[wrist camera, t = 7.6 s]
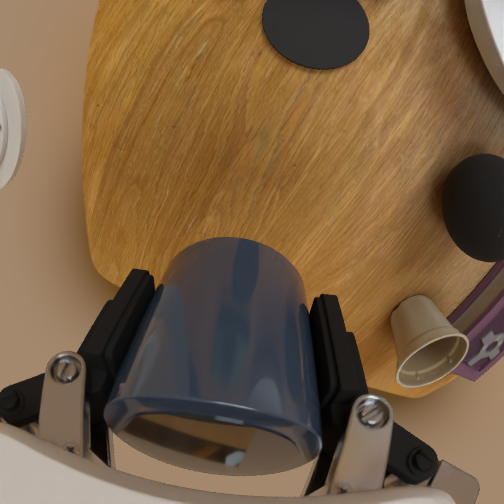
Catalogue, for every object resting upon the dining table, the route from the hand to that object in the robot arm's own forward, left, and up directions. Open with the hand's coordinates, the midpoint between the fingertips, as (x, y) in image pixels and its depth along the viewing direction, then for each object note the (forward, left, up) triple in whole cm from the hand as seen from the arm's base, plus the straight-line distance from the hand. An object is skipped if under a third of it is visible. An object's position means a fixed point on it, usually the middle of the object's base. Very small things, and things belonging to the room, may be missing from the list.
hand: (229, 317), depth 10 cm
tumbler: (0, 0, -1) cm, 1 cm away
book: (+39, -11, -18) cm, 44 cm away
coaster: (+4, +15, -17) cm, 23 cm away
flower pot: (+22, -14, -18) cm, 31 cm away
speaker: (+22, +3, -18) cm, 28 cm away
